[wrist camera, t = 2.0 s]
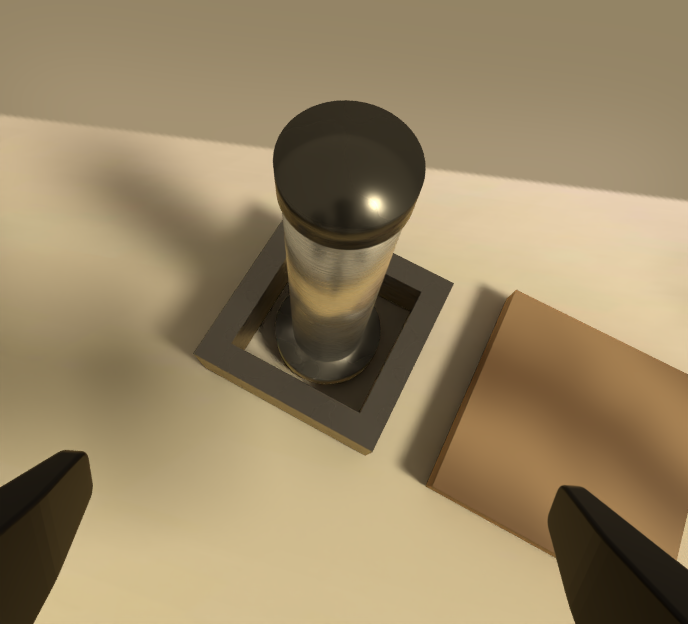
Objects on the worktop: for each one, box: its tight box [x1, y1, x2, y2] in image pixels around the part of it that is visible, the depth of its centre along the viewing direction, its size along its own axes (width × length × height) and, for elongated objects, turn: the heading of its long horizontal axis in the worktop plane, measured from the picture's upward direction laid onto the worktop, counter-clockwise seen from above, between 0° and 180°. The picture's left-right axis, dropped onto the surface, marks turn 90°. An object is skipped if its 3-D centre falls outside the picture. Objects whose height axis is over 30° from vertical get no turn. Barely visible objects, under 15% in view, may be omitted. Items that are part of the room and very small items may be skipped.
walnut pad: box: [426, 290, 688, 560], centre depth 21 cm, size 10×10×1 cm
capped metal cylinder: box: [273, 100, 426, 384], centre depth 17 cm, size 5×5×13 cm
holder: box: [193, 220, 454, 456], centre depth 22 cm, size 8×8×2 cm
